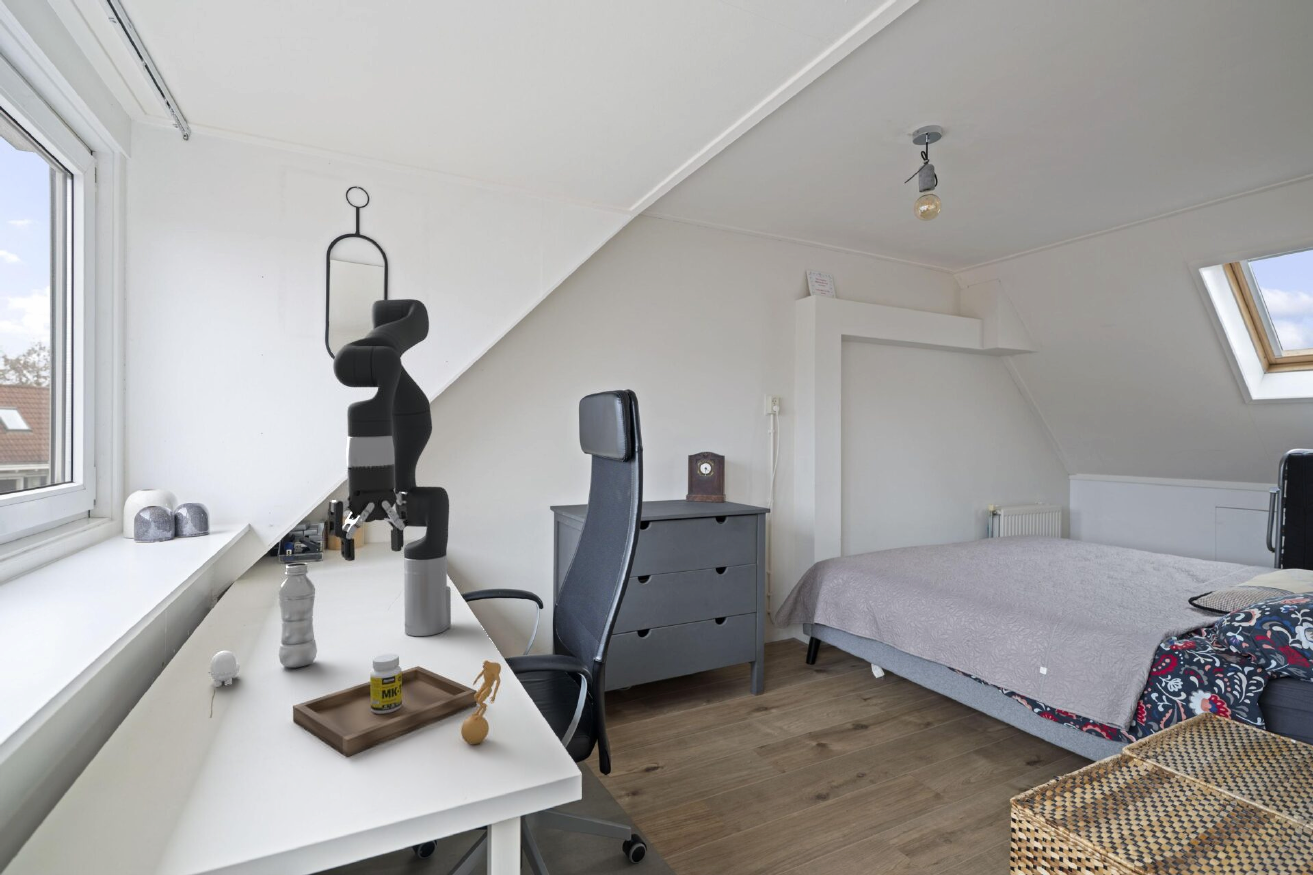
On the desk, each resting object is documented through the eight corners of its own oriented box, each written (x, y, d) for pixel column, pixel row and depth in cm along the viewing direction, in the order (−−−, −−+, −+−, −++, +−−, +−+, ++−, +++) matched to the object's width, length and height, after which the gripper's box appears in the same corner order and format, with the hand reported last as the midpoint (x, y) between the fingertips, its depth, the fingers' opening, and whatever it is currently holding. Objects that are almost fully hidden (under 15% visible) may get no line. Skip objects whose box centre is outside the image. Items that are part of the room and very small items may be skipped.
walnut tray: (418, 679, 121) (418, 665, 121) (476, 705, 110) (476, 690, 110) (293, 721, 104) (292, 705, 104) (347, 757, 93) (346, 739, 93)
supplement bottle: (382, 717, 104) (380, 664, 104) (364, 710, 106) (363, 659, 106) (408, 706, 108) (407, 655, 108) (391, 699, 110) (389, 650, 110)
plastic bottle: (301, 672, 125) (299, 568, 124) (270, 670, 126) (269, 567, 126) (324, 660, 131) (323, 561, 131) (295, 658, 132) (294, 560, 132)
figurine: (453, 735, 100) (452, 657, 99) (491, 724, 103) (491, 649, 103) (470, 758, 93) (470, 674, 92) (511, 746, 96) (510, 665, 96)
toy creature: (205, 692, 116) (205, 657, 116) (214, 676, 123) (214, 643, 123) (235, 687, 118) (235, 653, 118) (243, 672, 125) (242, 640, 125)
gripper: (397, 458, 120) (399, 545, 121) (318, 464, 109) (321, 560, 110) (420, 460, 116) (422, 550, 117) (340, 466, 105) (343, 566, 105)
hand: (373, 555), depth 113 cm, fingers open, 8 cm apart
